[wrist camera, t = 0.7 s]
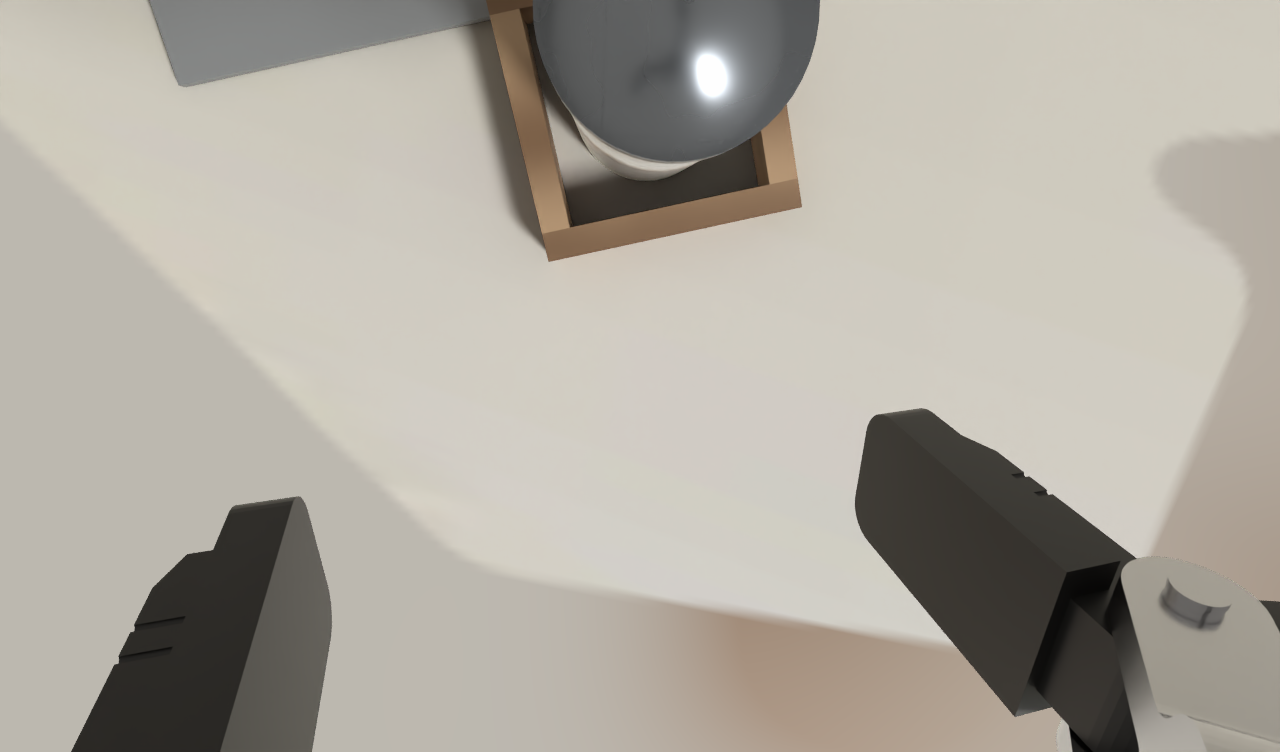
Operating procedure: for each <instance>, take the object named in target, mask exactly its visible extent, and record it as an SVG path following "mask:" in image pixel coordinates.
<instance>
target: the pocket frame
mask: <svg viewBox="0 0 1280 752" xmlns="http://www.w3.org/2000/svg"><path fill="white" fill-rule="evenodd" d="M486 2H487V7H488V11H489V15H490V19H491V23H492V27H493V32H494V36H495V40H496V44H497V48H498V52H499V57H500V61H501V65H502V69H503V73H504V77H505V82H506V86H507V90H508V94H509V98H510V102H511V107H512V111H513V115H514V119H515V123H516V128H517V132H518V136H519V140H520V144H521V148H522V153H523V157H524V161H525V165H526V169H527V173H528V178H529V182H530V186H531V190H532V194H533V198H534V203H535V207H536V211H537V215H538V219H539V223H540V228H541V232H542V236H543V240H544V244H545V248H546V253H547V257H548V261H549V262H550V261H555V260H559V259H564V258H569V257H573V256H578V255H582V254H587V253H592V252H596V251H601V250H606V249H610V248H615V247H619V246H624V245H629V244H633V243H638V242H643V241H647V240H652V239H656V238H661V237H666V236H670V235H675V234H679V233H684V232H689V231H693V230H698V229H703V228H707V227H712V226H716V225H721V224H726V223H730V222H735V221H740V220H744V219H749V218H753V217H758V216H763V215H767V214H772V213H777V212H781V211H786V210H790V209H795V208H800V207H802V204H801V197H800V191H799V184H798V177H797V171H796V164H795V158H794V151H793V144H792V138H791V131H790V124H789V118H788V111H787V105H785V107H784V108H783V109H782V111H781V112H780V113H779V114H778V115H777V116H776V117H775V118H774V119H773V120H772V121H771V122H770V123H769V124H768V125H767V126H766V127H764V128H763V129H762V130H761V131H760V132H758V133H757V134H756V135H755V136H753V137H752V138H750V139H751V145H752V151H753V157H754V163H755V169H756V175H757V181H758V186H757V187H752V188H747V189H743V190H738V191H734V192H729V193H724V194H720V195H715V196H711V197H706V198H701V199H697V200H692V201H688V202H683V203H678V204H674V205H669V206H664V207H660V208H655V209H651V210H646V211H641V212H637V213H632V214H628V215H623V216H618V217H614V218H609V219H605V220H600V221H595V222H591V223H586V224H581V225H577V226H573V225H572V220H571V216H570V212H569V207H568V203H567V199H566V194H565V190H564V185H563V181H562V177H561V172H560V168H559V164H558V159H557V155H556V151H555V146H554V142H553V137H552V133H551V129H550V124H549V120H548V116H547V111H546V107H545V102H544V98H543V94H542V89H541V85H540V81H539V76H538V72H537V67H536V63H535V59H534V54H533V50H532V46H531V41H530V37H529V32H528V28H527V24H530V23H533V0H486Z"/></svg>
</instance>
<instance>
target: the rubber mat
mask: <svg viewBox="0 0 1280 752" xmlns="http://www.w3.org/2000/svg"><path fill="white" fill-rule="evenodd" d="M149 1H150V4H151V7H152V10H153V13H154V15H155V18H156V21H157V24H158V27H159V30H160V33H161V36H162V39H163V42H164V44H165V47H166V50H167V53H168V56H169V59H170V62H171V65H172V68H173V71H174V73H175V76H176V79H177V82H178V85H179V86H183V87H188V86H193V85H197V84H202V83H207V82H211V81H216V80H220V79H225V78H229V77H234V76H238V75H243V74H247V73H252V72H256V71H261V70H265V69H270V68H274V67H279V66H283V65H288V64H292V63H297V62H301V61H306V60H310V59H315V58H320V57H324V56H329V55H333V54H338V53H342V52H347V51H351V50H356V49H360V48H365V47H369V46H374V45H378V44H383V43H387V42H392V41H396V40H401V39H405V38H410V37H414V36H419V35H423V34H428V33H432V32H437V31H442V30H446V29H451V28H455V27H460V26H464V25H469V24H473V23H478V22H482V21H487V20H491V19H490V15H489V11H488V7H487V2H486V0H149Z"/></svg>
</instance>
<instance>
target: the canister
mask: <svg viewBox="0 0 1280 752" xmlns="http://www.w3.org/2000/svg"><path fill="white" fill-rule="evenodd" d="M819 7H820V0H533V23H534V29H535V35H536V41H537V45H538V48H539V52H540V55H541V59H542V62H543V64H544V67H545V69H546V71H547V74H548V76H549V78H550V81H551V83H552V85H553V87H554V88H555V90H556V92H557V94H558V95H559V97H560V99H561V100H562V102H563V104H564V105H565V106H566V108H567V109H568V110H569V112H570V113H571V115H572V117H573V119H574V121H575V123H576V126H577V128H578V130H579V132H580V135H581V137H582V139H583V141H584V143H585V145H586V146H587V148H588V150H589V151H590V152H591V154H592V155H593V156H594V157H595V158H596V159H597V160H598V161H599V162H600V163H601V164H602V165H603V166H604V167H606V168H607V169H608V170H610V171H612V172H613V173H615V174H617V175H620V176H622V177H624V178H628V179H632V180H638V181H654V180H660V179H664V178H667V177H670V176H672V175H675V174H677V173H679V172H681V171H682V170H684V169H686V168H688V167H690V166H691V165H693V164H695V163H697V162H699V161H701V160H704V159H708V158H711V157H715V156H717V155H719V154H722V153H724V152H726V151H728V150H731V149H733V148H735V147H737V146H739V145H740V144H742V143H743V142H745V141H747V140H748V139H750V138H752V137H753V136H755V135H756V134H757V133H758V132H760V131H761V130H762V129H763V128H764V127H766V126H767V125H768V124H769V123H770V122H771V121H772V120H773V119H774V118H775V117H776V116H777V115H778V114H779V113H780V112H781V111H782V109H783V108H784V107H785V105H786V104H787V102H788V101H789V100H790V98H791V97H792V96H793V94H794V92H795V91H796V89H797V87H798V85H799V84H800V82H801V80H802V78H803V76H804V74H805V71H806V69H807V66H808V64H809V62H810V59H811V55H812V52H813V48H814V45H815V41H816V36H817V30H818V23H819Z"/></svg>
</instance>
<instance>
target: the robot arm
mask: <svg viewBox="0 0 1280 752" xmlns="http://www.w3.org/2000/svg"><path fill="white" fill-rule="evenodd" d="M855 510H856V516H857V520H858V523H859V526H860V528H861V531H862V533H863V534H864V536H865V538H866V539H867V540H868V542H869V543H870V544H871V545H872V546H873V548H874V549H875V550H876V551H877V552H878V554H879V555H880V556H881V557H882V558H883V560H884V561H885V562H886V563H887V564H888V566H889V567H890V568H891V569H892V570H893V572H894V573H895V574H896V575H897V576H898V578H899V579H900V580H901V581H902V582H903V584H904V585H905V586H906V587H907V588H908V590H909V591H910V592H911V593H912V594H913V596H914V597H915V598H916V599H917V600H918V602H919V603H920V604H921V605H922V606H923V608H924V609H925V610H926V611H927V612H928V614H929V615H930V616H931V617H932V618H933V620H934V621H935V622H936V623H937V624H938V626H939V627H940V628H941V629H942V630H943V632H944V633H945V634H946V635H947V636H948V637H949V639H950V640H951V641H952V642H953V643H954V645H955V646H956V647H957V648H958V649H959V651H960V652H961V653H962V654H963V655H964V657H965V658H966V659H967V660H968V661H969V663H970V664H971V665H972V666H973V667H974V669H975V670H976V671H977V672H978V673H979V675H980V676H981V677H982V678H983V679H984V680H985V682H986V683H987V684H988V685H989V687H990V688H991V689H992V690H993V691H994V693H995V694H996V695H997V696H998V697H999V698H1000V700H1001V701H1002V702H1003V703H1004V705H1005V706H1006V707H1007V708H1008V709H1009V710H1010V712H1011V713H1012V714H1013V715H1014V716H1015V717H1017V716H1020V715H1024V714H1028V713H1031V712H1035V711H1039V710H1043V709H1047V708H1050V707H1053V709H1054V710H1055V711H1056V712H1057V713H1058V714H1059V715H1060V716H1061V717H1062V720H1061V723H1060V725H1059V727H1058V730H1057V734H1056V743H1057V751H1058V752H1280V602H1276V601H1260V600H1258V599H1256V598H1255V597H1254V596H1253V595H1252V594H1251V593H1249V592H1248V591H1247V590H1245V589H1244V588H1243V587H1241V586H1240V585H1238V584H1236V583H1235V582H1233V581H1232V580H1230V579H1228V578H1226V577H1224V576H1222V575H1220V574H1218V573H1216V572H1214V571H1212V570H1209V569H1207V568H1204V567H1202V566H1199V565H1196V564H1193V563H1190V562H1186V561H1182V560H1179V559H1173V558H1167V557H1143V558H1135V557H1134V556H1133V555H1131V554H1130V553H1129V552H1127V551H1126V550H1125V549H1123V548H1122V547H1121V546H1120V545H1118V544H1117V543H1116V542H1114V541H1113V540H1112V539H1110V538H1109V537H1108V536H1106V535H1105V534H1104V533H1103V532H1101V531H1100V530H1099V529H1097V528H1096V527H1095V526H1093V525H1092V524H1091V523H1089V522H1088V521H1087V520H1086V519H1084V518H1083V517H1082V516H1080V515H1079V514H1078V513H1076V512H1075V511H1074V510H1072V509H1071V508H1070V507H1069V506H1067V505H1066V504H1065V503H1063V502H1062V501H1061V500H1059V499H1058V498H1057V497H1055V496H1054V495H1053V494H1051V495H1048V494H1047V490H1046V489H1045V488H1044V487H1042V486H1041V485H1040V484H1038V483H1037V482H1036V481H1035V480H1033V479H1032V478H1031V477H1025V476H1024V472H1023V471H1021V470H1020V469H1019V468H1018V467H1016V466H1015V465H1014V464H1012V463H1011V462H1010V461H1008V460H1007V459H1006V458H1005V457H1003V456H1002V455H1001V454H999V453H998V452H997V451H995V450H992V449H990V448H988V447H986V446H984V445H982V444H979V443H977V442H975V441H973V440H971V439H968V438H966V437H964V436H962V435H960V434H959V433H958V432H956V431H955V430H954V429H953V428H951V427H950V426H949V425H948V424H946V423H945V422H944V421H942V420H941V419H940V418H939V417H937V416H936V415H935V414H934V413H932V412H931V411H929V410H927V409H922V408H920V409H913V410H906V411H899V412H893V413H886V414H879V415H876V416H874V417H873V418H872V419H871V420H870V422H869V424H868V427H867V431H866V437H865V443H864V449H863V455H862V461H861V467H860V473H859V479H858V485H857V490H856V497H855ZM134 626H135V631H134V632H131V633H130V634H129V636H128V638H127V641H126V642H125V645H124V646H123V648H122V650H121V652H120V654H119V664H116V665H114V666H113V669H112V671H111V673H110V675H109V677H108V679H107V681H106V683H105V685H104V687H103V689H102V691H101V693H100V695H99V697H98V699H97V701H96V703H95V705H94V707H93V709H92V711H91V713H90V715H89V717H88V719H87V721H86V723H85V725H84V727H83V729H82V731H81V733H80V735H79V737H78V739H77V741H76V743H75V745H74V747H73V749H72V751H71V752H312V747H313V741H314V735H315V729H316V723H317V717H318V711H319V705H320V699H321V693H322V687H323V681H324V675H325V669H326V663H327V657H328V651H329V645H330V639H331V629H332V615H331V601H330V595H329V589H328V585H327V581H326V578H325V574H324V570H323V566H322V562H321V559H320V555H319V551H318V548H317V544H316V540H315V536H314V532H313V529H312V525H311V521H310V518H309V514H308V510H307V507H306V505H305V503H304V501H303V500H302V498H301V497H291V498H284V499H277V500H270V501H263V502H256V503H249V504H243V505H236V506H234V507H232V508H231V510H230V511H229V514H228V516H227V518H226V521H225V523H224V526H223V528H222V530H221V533H220V535H219V537H218V540H217V542H216V544H215V547H214V549H213V550H211V551H205V552H199V553H192V554H187V555H186V556H185V557H184V558H183V559H182V560H181V561H180V562H179V563H178V564H177V565H176V566H175V567H174V568H173V569H172V570H171V571H170V572H168V573H167V574H166V575H165V576H164V577H163V578H162V579H161V580H160V581H159V582H158V583H157V584H156V585H155V586H154V587H153V588H152V590H151V592H150V594H149V596H148V598H147V600H146V602H145V604H144V606H143V608H142V610H141V612H140V614H139V616H138V618H137V620H136V622H135V624H134Z"/></svg>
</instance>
